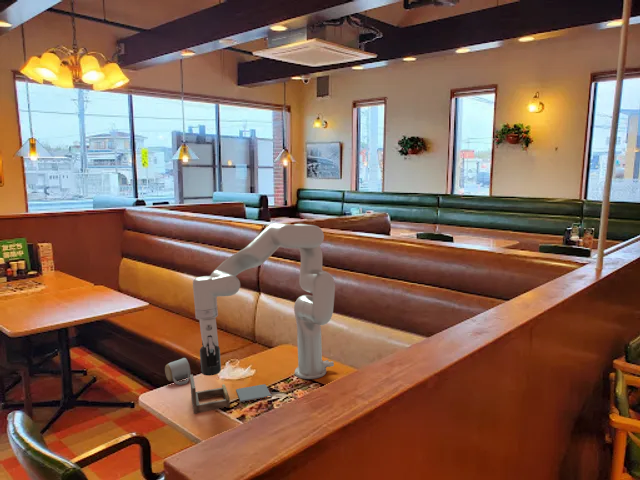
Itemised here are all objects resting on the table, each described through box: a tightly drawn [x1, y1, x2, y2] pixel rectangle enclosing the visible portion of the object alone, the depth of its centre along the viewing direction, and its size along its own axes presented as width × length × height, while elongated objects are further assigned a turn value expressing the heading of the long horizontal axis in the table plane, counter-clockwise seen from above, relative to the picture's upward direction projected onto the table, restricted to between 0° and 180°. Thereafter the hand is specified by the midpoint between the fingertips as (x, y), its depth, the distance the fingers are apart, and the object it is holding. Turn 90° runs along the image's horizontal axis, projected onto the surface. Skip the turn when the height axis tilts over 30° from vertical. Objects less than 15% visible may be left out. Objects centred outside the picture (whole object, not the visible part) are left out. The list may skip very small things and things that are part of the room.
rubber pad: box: [235, 383, 272, 403], centre depth 172 cm, size 11×10×1 cm
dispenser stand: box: [189, 373, 231, 415], centre depth 165 cm, size 12×12×9 cm
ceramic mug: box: [164, 357, 191, 386], centre depth 185 cm, size 11×8×8 cm
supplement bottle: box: [199, 340, 222, 377], centre depth 164 cm, size 7×7×12 cm
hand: (210, 361), depth 164 cm, fingers closed on supplement bottle, 6 cm apart
